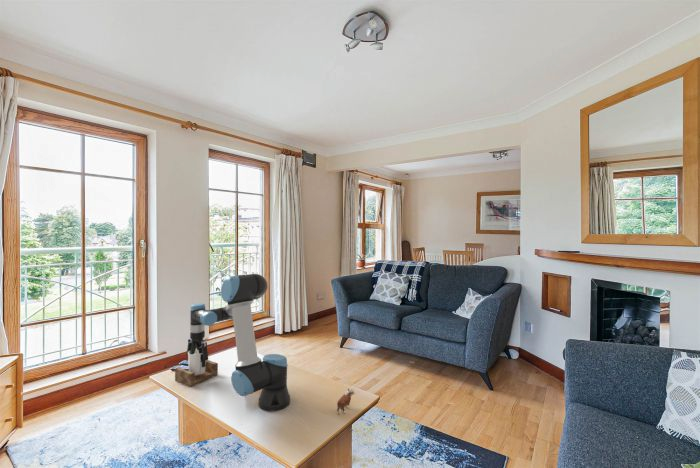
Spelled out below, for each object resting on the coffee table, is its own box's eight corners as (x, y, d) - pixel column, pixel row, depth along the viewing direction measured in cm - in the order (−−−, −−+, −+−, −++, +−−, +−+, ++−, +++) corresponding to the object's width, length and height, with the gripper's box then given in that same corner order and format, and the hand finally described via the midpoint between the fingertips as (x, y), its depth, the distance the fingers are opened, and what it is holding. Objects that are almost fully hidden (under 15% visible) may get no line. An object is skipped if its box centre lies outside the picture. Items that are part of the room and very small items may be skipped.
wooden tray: (217, 375, 186) (217, 363, 186) (190, 387, 172) (190, 374, 172) (202, 369, 193) (202, 358, 193) (175, 380, 178) (175, 368, 178)
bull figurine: (356, 404, 158) (356, 388, 157) (341, 418, 146) (342, 400, 146) (348, 402, 160) (348, 385, 160) (333, 415, 148) (334, 397, 148)
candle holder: (189, 369, 186) (189, 348, 186) (207, 367, 189) (207, 347, 188) (185, 376, 176) (186, 355, 176) (205, 374, 179) (205, 353, 179)
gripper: (215, 332, 180) (215, 372, 180) (191, 326, 191) (191, 364, 191) (203, 336, 174) (203, 377, 174) (179, 329, 184) (179, 368, 184)
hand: (196, 370), depth 182 cm, fingers closed on candle holder, 9 cm apart
